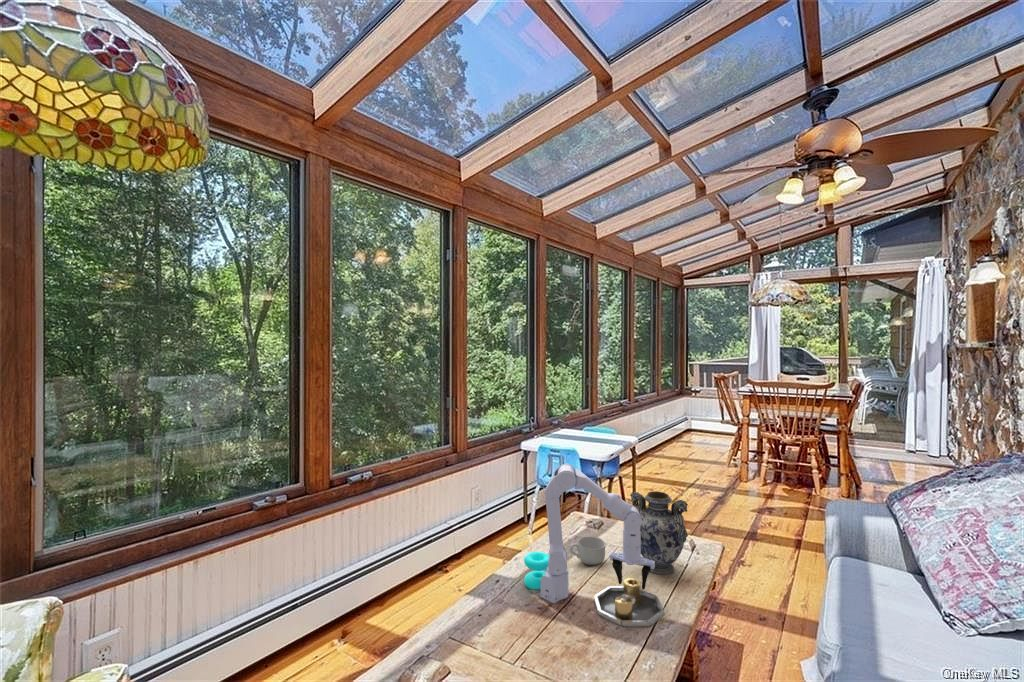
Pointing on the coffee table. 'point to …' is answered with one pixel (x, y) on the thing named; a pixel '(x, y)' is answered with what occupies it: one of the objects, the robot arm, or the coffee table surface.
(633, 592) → the gear
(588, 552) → the teacup
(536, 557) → the donuts
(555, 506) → the robot arm
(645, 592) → the tray
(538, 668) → the coffee table surface
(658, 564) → the decorative vase
